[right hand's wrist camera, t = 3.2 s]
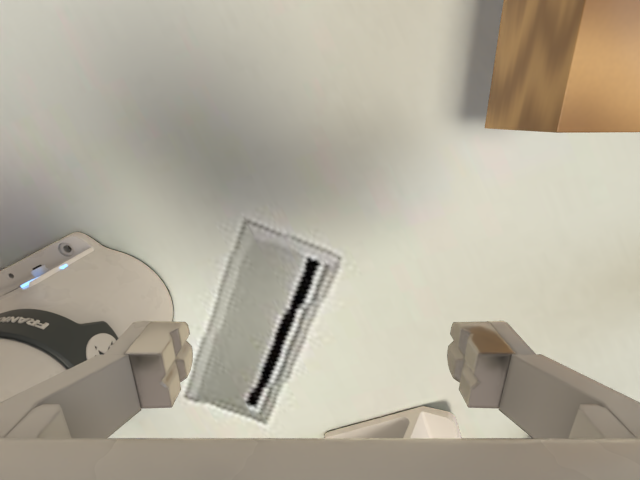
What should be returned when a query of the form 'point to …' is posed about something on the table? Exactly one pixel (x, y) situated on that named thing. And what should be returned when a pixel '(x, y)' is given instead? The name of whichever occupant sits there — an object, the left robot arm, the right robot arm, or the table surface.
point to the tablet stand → (404, 426)
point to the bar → (567, 67)
